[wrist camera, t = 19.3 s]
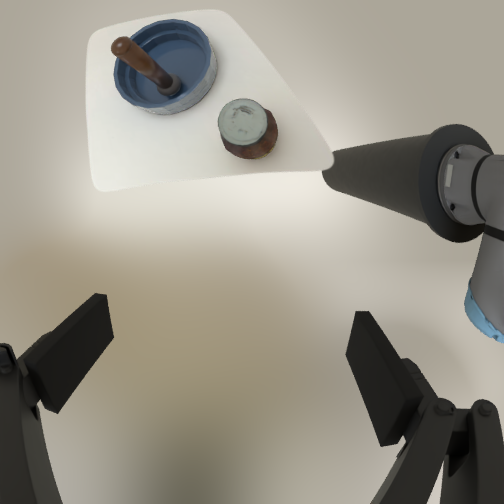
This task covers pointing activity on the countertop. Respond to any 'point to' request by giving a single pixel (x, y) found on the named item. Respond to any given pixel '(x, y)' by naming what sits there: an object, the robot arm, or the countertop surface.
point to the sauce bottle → (247, 129)
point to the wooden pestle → (146, 66)
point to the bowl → (169, 66)
